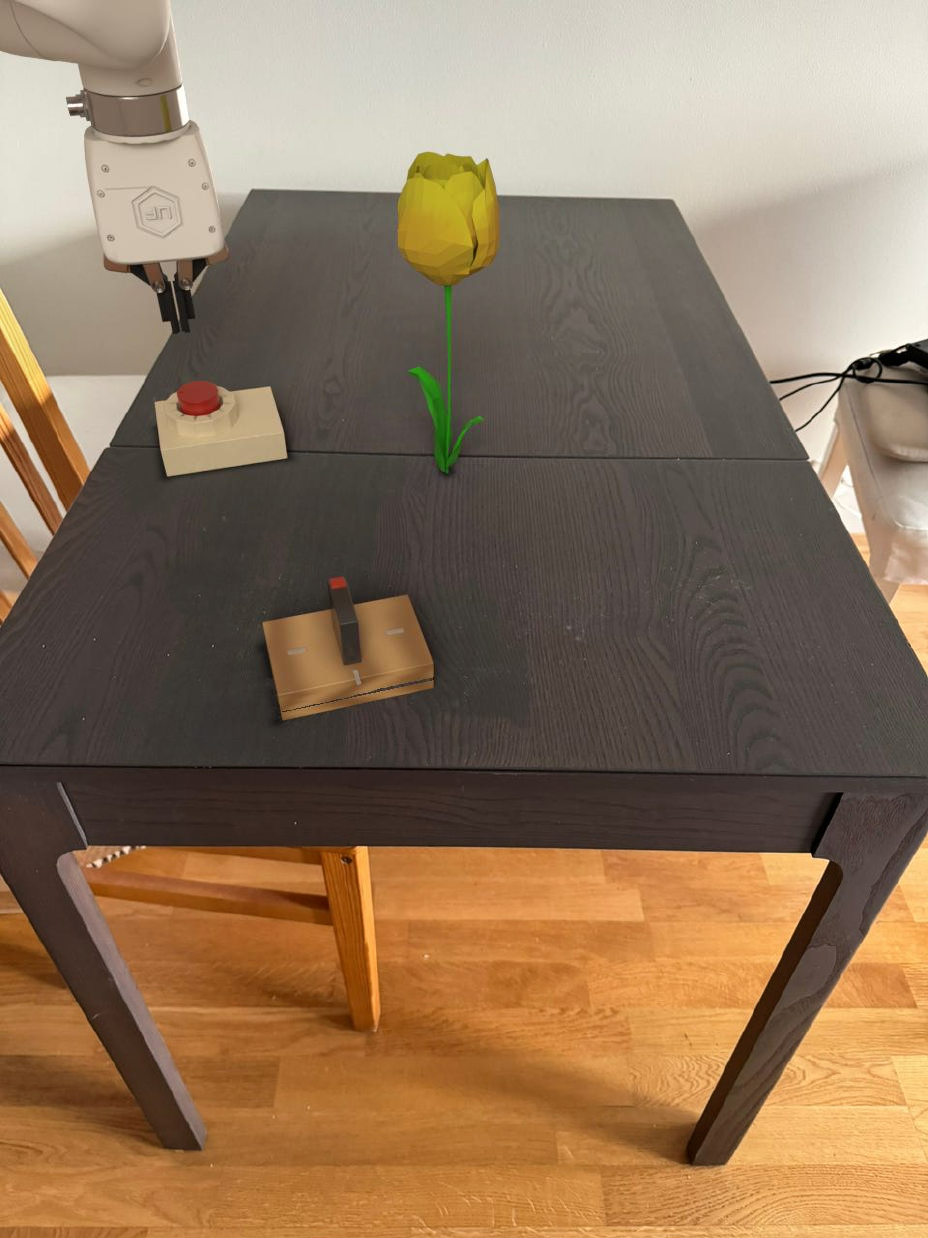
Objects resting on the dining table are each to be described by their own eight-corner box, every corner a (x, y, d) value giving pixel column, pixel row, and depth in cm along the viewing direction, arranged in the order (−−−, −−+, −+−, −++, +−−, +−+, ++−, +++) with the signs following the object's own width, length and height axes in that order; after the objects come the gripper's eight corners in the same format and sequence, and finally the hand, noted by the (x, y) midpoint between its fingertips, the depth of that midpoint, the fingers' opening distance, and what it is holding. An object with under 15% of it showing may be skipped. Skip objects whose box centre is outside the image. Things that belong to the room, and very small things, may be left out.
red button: (181, 420, 91) (178, 404, 90) (178, 399, 94) (175, 383, 93) (223, 414, 92) (220, 398, 91) (218, 393, 95) (215, 378, 94)
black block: (361, 662, 71) (358, 618, 68) (343, 666, 71) (339, 622, 67) (348, 618, 74) (344, 574, 71) (331, 621, 74) (326, 577, 71)
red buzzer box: (167, 476, 92) (156, 434, 89) (160, 427, 98) (150, 386, 95) (287, 458, 95) (281, 416, 91) (273, 412, 101) (268, 370, 98)
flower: (491, 452, 97) (507, 144, 75) (484, 499, 91) (499, 180, 70) (409, 445, 97) (402, 137, 76) (397, 492, 91) (385, 173, 70)
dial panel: (283, 727, 70) (278, 700, 68) (265, 642, 77) (260, 615, 74) (436, 694, 73) (436, 667, 71) (406, 615, 79) (405, 587, 77)
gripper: (37, 129, 69) (97, 355, 82) (239, 118, 73) (267, 336, 85) (39, 101, 74) (95, 317, 87) (228, 91, 78) (255, 300, 91)
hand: (180, 326), depth 86 cm, fingers closed
